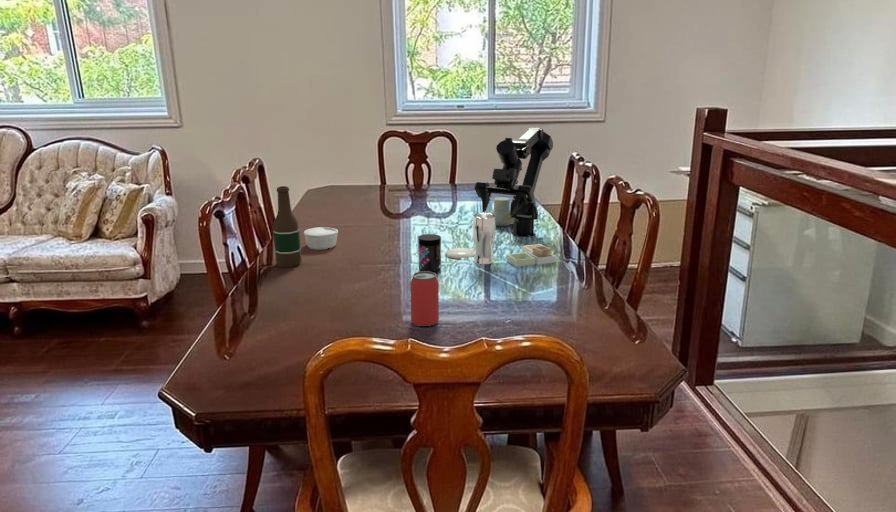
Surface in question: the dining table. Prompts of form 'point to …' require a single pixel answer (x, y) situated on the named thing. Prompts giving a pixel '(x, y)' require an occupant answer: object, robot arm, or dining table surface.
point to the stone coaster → (460, 253)
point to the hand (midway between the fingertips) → (497, 213)
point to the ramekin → (321, 237)
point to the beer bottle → (286, 232)
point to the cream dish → (529, 248)
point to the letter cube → (541, 251)
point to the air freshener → (502, 212)
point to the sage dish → (520, 259)
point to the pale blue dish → (543, 259)
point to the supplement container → (429, 252)
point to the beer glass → (483, 237)
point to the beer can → (424, 298)
